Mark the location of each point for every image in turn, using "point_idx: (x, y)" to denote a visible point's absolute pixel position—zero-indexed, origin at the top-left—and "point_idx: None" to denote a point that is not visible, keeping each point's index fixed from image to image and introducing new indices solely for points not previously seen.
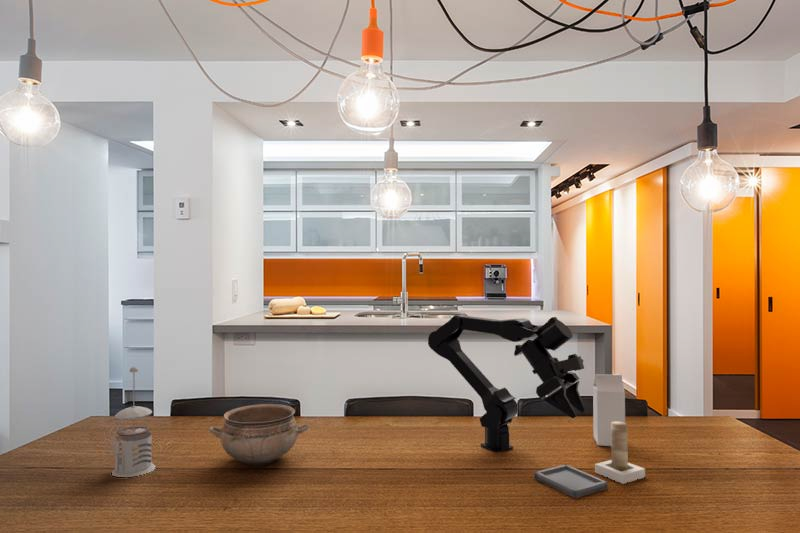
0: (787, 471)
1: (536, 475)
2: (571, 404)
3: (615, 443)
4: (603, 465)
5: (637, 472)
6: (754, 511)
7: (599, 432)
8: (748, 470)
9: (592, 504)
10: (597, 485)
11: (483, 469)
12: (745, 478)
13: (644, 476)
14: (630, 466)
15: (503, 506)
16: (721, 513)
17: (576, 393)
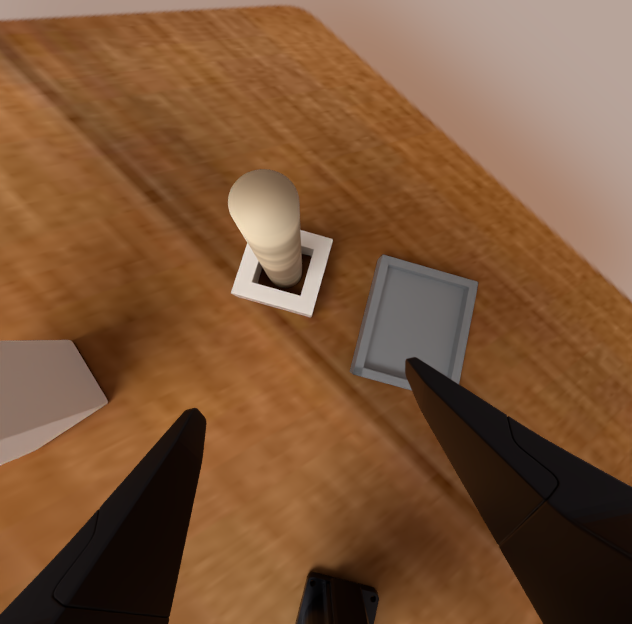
0: (8, 28)
1: None
2: (189, 520)
3: (300, 242)
4: (306, 295)
5: None
6: (283, 49)
7: (65, 411)
8: (56, 84)
9: (464, 250)
10: (412, 263)
11: None
12: (117, 82)
13: None
14: None
15: (599, 364)
16: (332, 85)
17: (94, 576)
